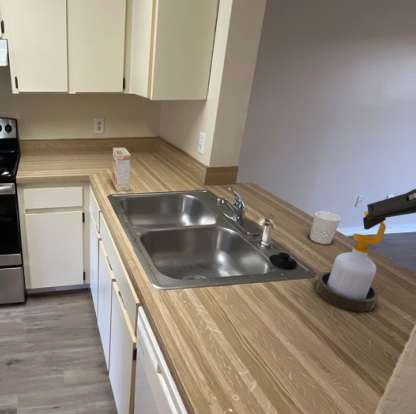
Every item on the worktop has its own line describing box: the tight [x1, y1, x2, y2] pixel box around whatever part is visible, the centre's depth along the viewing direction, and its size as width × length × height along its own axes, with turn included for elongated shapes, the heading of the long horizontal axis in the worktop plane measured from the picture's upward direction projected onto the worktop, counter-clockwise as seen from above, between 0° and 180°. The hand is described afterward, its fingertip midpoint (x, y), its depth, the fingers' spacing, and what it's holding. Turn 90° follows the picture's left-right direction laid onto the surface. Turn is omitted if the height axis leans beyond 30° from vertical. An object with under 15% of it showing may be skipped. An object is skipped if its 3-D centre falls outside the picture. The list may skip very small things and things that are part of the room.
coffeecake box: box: [112, 147, 131, 192], centre depth 175 cm, size 15×7×20 cm, turn 6°
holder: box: [315, 271, 379, 313], centre depth 93 cm, size 14×14×4 cm
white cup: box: [309, 210, 342, 245], centre depth 122 cm, size 8×8×10 cm
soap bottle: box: [327, 210, 387, 300], centre depth 89 cm, size 9×9×25 cm
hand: (400, 226), depth 74 cm, fingers open, 13 cm apart
